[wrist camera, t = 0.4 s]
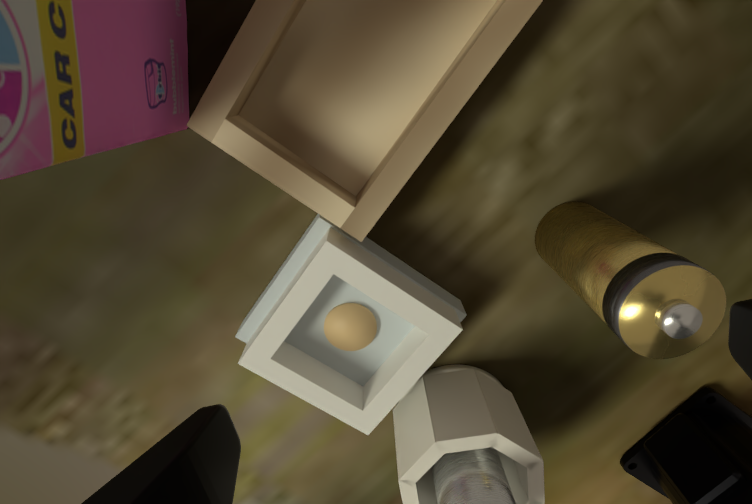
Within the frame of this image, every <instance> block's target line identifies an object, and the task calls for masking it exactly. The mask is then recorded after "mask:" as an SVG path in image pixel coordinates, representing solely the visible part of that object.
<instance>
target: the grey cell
mask: <svg viewBox="0 0 752 504" xmlns="http://www.w3.org/2000/svg"><path fill="white" fill-rule="evenodd" d="M431 468H432V474H433V480H434V486H435V492H436V498H437V503H438V504H516V503H515V500H514V497H513V494H512V491H511V488H510V486H509V483H508V480H507V477H506V474H505V471H504V469H503V466H502V463H501V460H500V457H499V454H498V452H497V450H496V449H494V448H493V447H489V448H482V449H474V450H467V451H460V452H453V453H446V454H444V455H443V456H442V457H441V458H440V459H439V460H438V461H437V462H436V463H435V464H434V465H433V466H432V467H431Z"/></svg>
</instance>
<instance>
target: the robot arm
mask: <svg viewBox="0 0 752 504" xmlns="http://www.w3.org/2000/svg"><path fill="white" fill-rule="evenodd" d="M728 343H729V349H730V352H731V355H732V356H733V358H734V359H735V361H736V362H737V363H738V364H739V366H740V367H741V368H742V369H743V370H744V371H745V373H746V374H747V375H748V376H749V377H750V379H751V380H752V299H749V300H745V301H740V302H736V303H734V304H733V305H732V306H731V308H730V315H729V342H728ZM240 452H241V444H240V439H239V436H238V434H237V431H236V429H235V427H234V424H233V422H232V420H231V417H230V415H229V412H228V410H227V409H226V407H225V406H223V405H221V404H218V405H213V406H208V407H203V408H200V409H199V410H197V411H196V412H195V413H194V414H192V415H191V416H190V417H189V418H187V419H186V420H185V421H184V422H182V423H181V424H180V425H179V426H177V427H176V428H175V429H174V430H172V431H171V432H170V433H169V434H167V435H166V436H165V437H164V438H163V439H161V440H160V441H159V442H158V443H156V444H155V445H154V446H153V447H151V448H150V449H149V450H148V451H146V452H145V453H144V454H143V455H141V456H140V457H139V458H138V459H136V460H135V461H134V462H133V463H131V464H130V465H129V466H128V467H126V468H125V469H124V470H123V471H121V472H120V473H119V474H118V475H116V476H115V477H114V478H113V479H111V480H110V481H109V482H108V483H106V484H105V485H104V486H103V487H101V488H100V489H99V490H98V491H97V492H95V493H94V494H93V495H92V496H90V497H89V498H88V499H87V500H85V501H84V502H83V503H82V504H232V503H233V496H234V490H235V484H236V478H237V471H238V465H239V459H240ZM620 464H621V466H622V467H623V469H624V470H625V471H626V472H627V473H629V474H630V475H632V476H634V477H635V478H637V479H638V480H640V481H642V482H643V483H645V484H646V485H648V486H650V487H651V488H653V489H654V490H656V491H658V492H659V493H661V494H662V495H664V496H666V497H667V498H669V499H670V500H671V502H672V503H673V504H752V417H750V416H749V415H748V414H746V413H745V412H744V411H742V410H741V409H739V408H738V407H737V406H735V405H734V404H733V403H731V402H730V401H729V400H727V399H726V398H725V397H723V396H722V395H720V394H719V393H718V392H716V391H715V390H714V389H712V388H704V389H702V390H700V391H699V392H698V393H696V394H695V395H694V396H693V397H692V398H691V399H689V400H688V401H687V402H686V403H685V404H684V405H682V406H681V407H680V408H679V409H678V410H677V411H675V412H674V413H673V414H672V415H671V416H670V417H668V418H667V419H666V420H665V421H664V422H663V423H661V424H660V425H659V426H658V427H657V428H656V429H654V430H653V431H652V432H651V433H650V434H649V435H647V436H646V437H645V438H644V439H643V440H642V441H640V442H639V443H638V444H637V445H636V446H635V447H633V448H632V449H631V450H630V451H629V452H628V453H626V454H625V455H624V456H623V457H622V458H621V460H620Z"/></svg>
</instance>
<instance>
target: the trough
mask: <svg viewBox="0 0 752 504" xmlns="http://www.w3.org/2000/svg"><path fill="white" fill-rule="evenodd" d="M542 1H543V0H256V1H255V3H254V5H253V6H252V8H251V10H250V12H249V14H248V15H247V17H246V19H245V21H244V23H243V24H242V26H241V28H240V30H239V32H238V33H237V35H236V37H235V39H234V40H233V42H232V44H231V46H230V48H229V49H228V51H227V53H226V55H225V57H224V58H223V60H222V62H221V64H220V66H219V67H218V69H217V71H216V73H215V75H214V76H213V78H212V80H211V82H210V84H209V85H208V87H207V89H206V91H205V93H204V94H203V96H202V98H201V100H200V102H199V103H198V105H197V107H196V109H195V111H194V112H193V114H192V116H191V118H190V120H189V121H188V123H187V125H186V126H188V127H189V128H191V129H192V130H194V131H195V132H197V133H198V134H200V135H201V136H203V137H204V138H206V139H207V140H209V141H210V142H212V143H213V144H215V145H216V146H218V147H219V148H221V149H222V150H224V151H225V152H227V153H228V154H230V155H231V156H233V157H234V158H236V159H237V160H239V161H240V162H242V163H243V164H245V165H246V166H248V167H249V168H251V169H252V170H254V171H255V172H257V173H258V174H260V175H261V176H263V177H264V178H266V179H267V180H269V181H270V182H272V183H273V184H275V185H276V186H278V187H279V188H281V189H282V190H284V191H285V192H287V193H288V194H290V195H291V196H293V197H294V198H296V199H297V200H299V201H300V202H302V203H303V204H305V205H306V206H308V207H309V208H311V209H312V210H314V211H315V212H317V213H318V214H320V215H321V216H323V217H324V218H326V219H327V220H329V221H330V222H332V223H333V224H335V225H336V226H338V227H339V228H341V229H342V230H344V231H345V232H347V233H348V234H350V235H351V236H353V237H354V238H356V239H357V240H359V241H360V242H362V241H363V239H364V238H365V237H366V235H367V234H368V233H369V231H370V230H371V229H372V227H373V226H374V225H375V223H376V222H377V221H378V219H379V218H380V217H381V215H382V214H383V213H384V211H385V210H386V209H387V207H388V206H389V205H390V203H391V202H392V201H393V199H394V198H395V197H396V195H397V194H398V193H399V191H400V190H401V189H402V187H403V186H404V185H405V183H406V182H407V181H408V179H409V178H410V177H411V175H412V174H413V173H414V171H415V170H416V169H417V167H418V166H419V165H420V163H421V162H422V161H423V159H424V158H425V157H426V155H427V154H428V153H429V151H430V150H431V149H432V147H433V146H434V145H435V143H436V142H437V141H438V139H439V138H440V137H441V135H442V134H443V133H444V131H445V130H446V129H447V127H448V126H449V125H450V123H451V122H452V121H453V119H454V118H455V117H456V116H457V114H458V113H459V112H460V110H461V109H462V108H463V106H464V105H465V104H466V102H467V101H468V100H469V98H470V97H471V96H472V94H473V93H474V92H475V90H476V89H477V88H478V86H479V85H480V84H481V82H482V81H483V80H484V78H485V77H486V76H487V74H488V73H489V72H490V70H491V69H492V68H493V66H494V65H495V64H496V62H497V61H498V60H499V58H500V57H501V56H502V54H503V53H504V52H505V50H506V49H507V48H508V46H509V45H510V44H511V42H512V41H513V40H514V38H515V37H516V36H517V34H518V33H519V32H520V30H521V29H522V28H523V26H524V25H525V24H526V22H527V21H528V20H529V18H530V17H531V16H532V14H533V13H534V12H535V10H536V9H537V8H538V6H539V5H540V4H541V2H542Z"/></svg>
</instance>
